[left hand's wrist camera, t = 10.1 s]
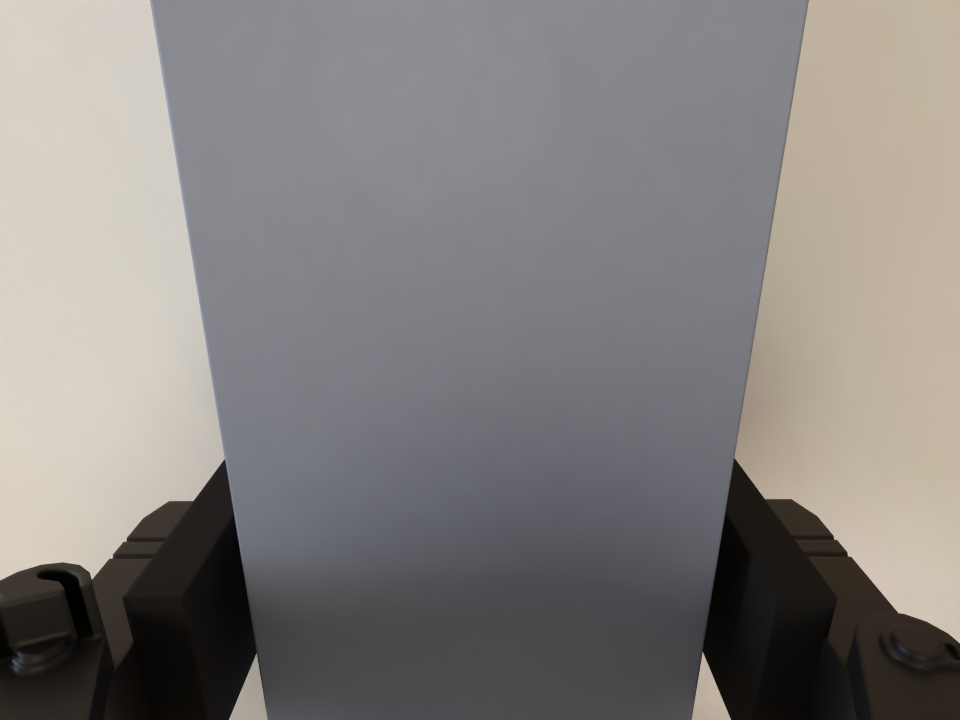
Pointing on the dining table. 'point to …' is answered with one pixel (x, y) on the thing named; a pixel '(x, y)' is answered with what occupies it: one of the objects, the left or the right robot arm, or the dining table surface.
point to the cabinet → (479, 333)
